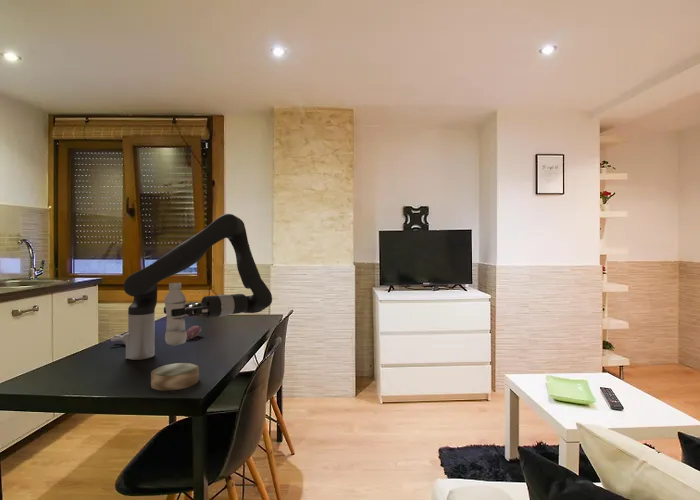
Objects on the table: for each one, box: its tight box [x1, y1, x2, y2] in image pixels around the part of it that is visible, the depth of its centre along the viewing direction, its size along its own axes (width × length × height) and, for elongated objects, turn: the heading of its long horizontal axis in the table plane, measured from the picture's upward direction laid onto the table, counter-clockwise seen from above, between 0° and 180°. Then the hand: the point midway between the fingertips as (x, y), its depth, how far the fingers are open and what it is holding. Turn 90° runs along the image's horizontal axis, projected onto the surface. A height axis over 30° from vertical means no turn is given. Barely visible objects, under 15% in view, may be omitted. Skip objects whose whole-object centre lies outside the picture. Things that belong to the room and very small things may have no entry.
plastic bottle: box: [163, 282, 188, 346], centre depth 126 cm, size 6×7×20 cm
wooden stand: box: [150, 362, 200, 392], centre depth 125 cm, size 14×14×4 cm
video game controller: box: [186, 325, 203, 340], centre depth 187 cm, size 10×5×7 cm, turn 169°
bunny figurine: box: [110, 332, 128, 346], centre depth 174 cm, size 10×5×15 cm
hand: (167, 311), depth 125 cm, fingers closed on plastic bottle, 6 cm apart
